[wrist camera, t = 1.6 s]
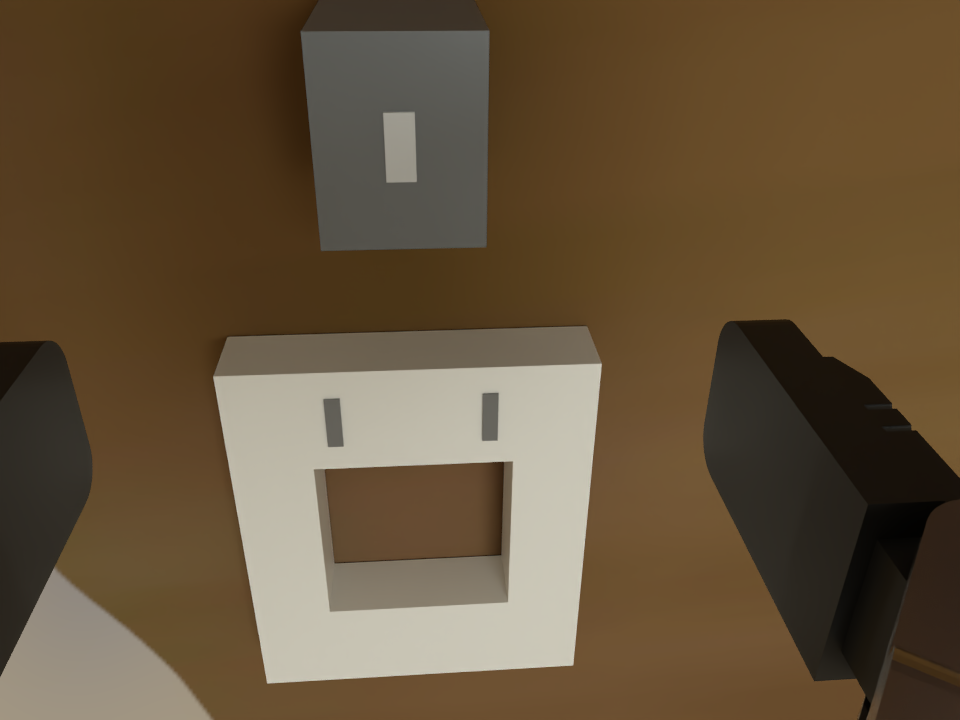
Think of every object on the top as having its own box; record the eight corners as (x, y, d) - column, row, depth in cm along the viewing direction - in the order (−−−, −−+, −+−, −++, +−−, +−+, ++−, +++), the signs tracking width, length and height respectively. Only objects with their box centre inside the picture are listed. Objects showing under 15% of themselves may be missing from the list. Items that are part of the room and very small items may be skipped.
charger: (323, -8, 23) (300, 32, 18) (470, -8, 23) (489, 31, 18) (337, 171, 26) (320, 252, 20) (470, 169, 26) (486, 248, 21)
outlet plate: (227, 336, 28) (212, 378, 26) (587, 325, 29) (602, 365, 27) (275, 632, 35) (266, 685, 33) (562, 617, 36) (573, 667, 34)
